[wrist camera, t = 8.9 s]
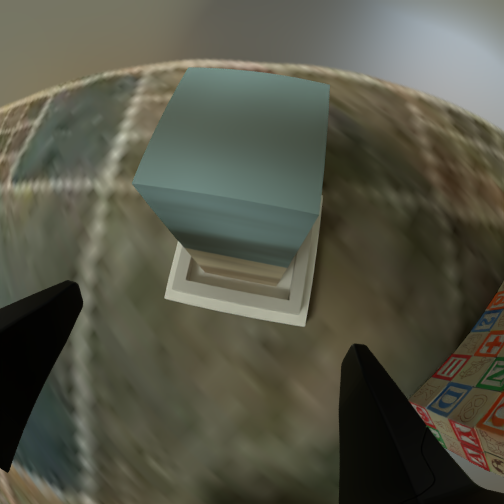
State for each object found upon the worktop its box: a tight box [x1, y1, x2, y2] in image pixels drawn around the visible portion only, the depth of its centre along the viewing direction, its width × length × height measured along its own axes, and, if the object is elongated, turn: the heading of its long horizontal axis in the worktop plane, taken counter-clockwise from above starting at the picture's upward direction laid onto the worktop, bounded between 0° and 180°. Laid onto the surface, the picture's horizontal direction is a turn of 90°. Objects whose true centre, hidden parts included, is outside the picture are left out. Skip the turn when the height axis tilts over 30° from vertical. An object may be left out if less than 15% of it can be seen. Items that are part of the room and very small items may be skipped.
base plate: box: [165, 195, 323, 327], centre depth 20 cm, size 10×10×2 cm
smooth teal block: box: [132, 68, 330, 287], centre depth 14 cm, size 5×5×13 cm
